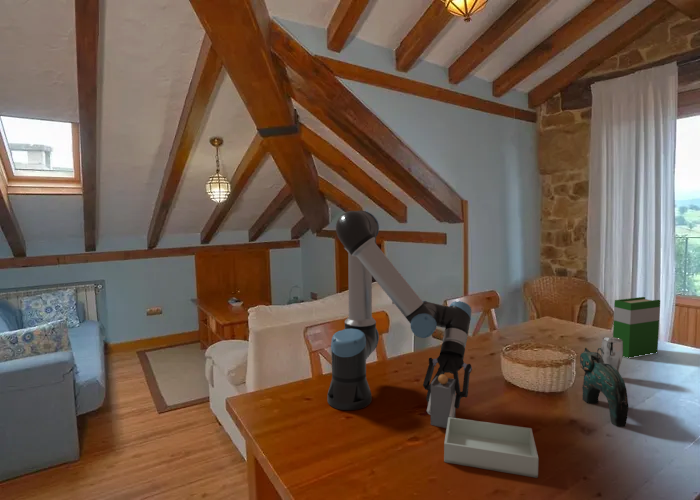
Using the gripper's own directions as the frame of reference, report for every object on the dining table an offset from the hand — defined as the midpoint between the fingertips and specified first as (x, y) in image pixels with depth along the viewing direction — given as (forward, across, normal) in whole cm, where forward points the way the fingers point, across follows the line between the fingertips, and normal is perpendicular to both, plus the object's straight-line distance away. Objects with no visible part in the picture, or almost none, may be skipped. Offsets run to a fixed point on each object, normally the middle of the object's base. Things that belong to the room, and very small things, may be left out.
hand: (439, 415), depth 120 cm
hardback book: (-68, -60, -73) cm, 116 cm away
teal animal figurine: (-20, -44, -26) cm, 55 cm away
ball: (-8, 0, +3) cm, 9 cm away
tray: (+8, -15, +2) cm, 17 cm away
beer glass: (-42, -48, -48) cm, 80 cm away
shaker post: (0, 0, -5) cm, 5 cm away
